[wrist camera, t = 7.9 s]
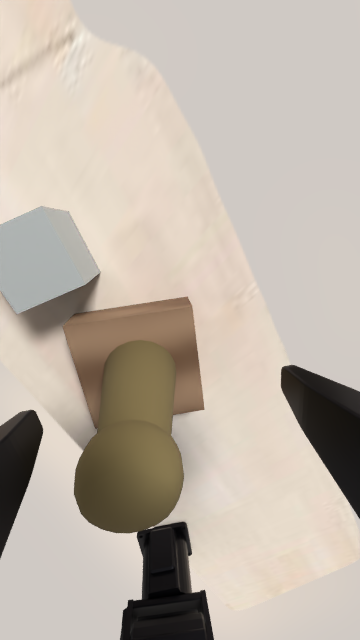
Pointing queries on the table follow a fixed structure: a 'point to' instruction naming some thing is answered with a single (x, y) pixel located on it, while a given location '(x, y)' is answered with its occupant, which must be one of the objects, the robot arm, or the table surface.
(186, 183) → the table surface
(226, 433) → the table surface
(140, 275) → the table surface
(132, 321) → the walnut block
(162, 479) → the olive game pawn
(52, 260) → the slate cube
